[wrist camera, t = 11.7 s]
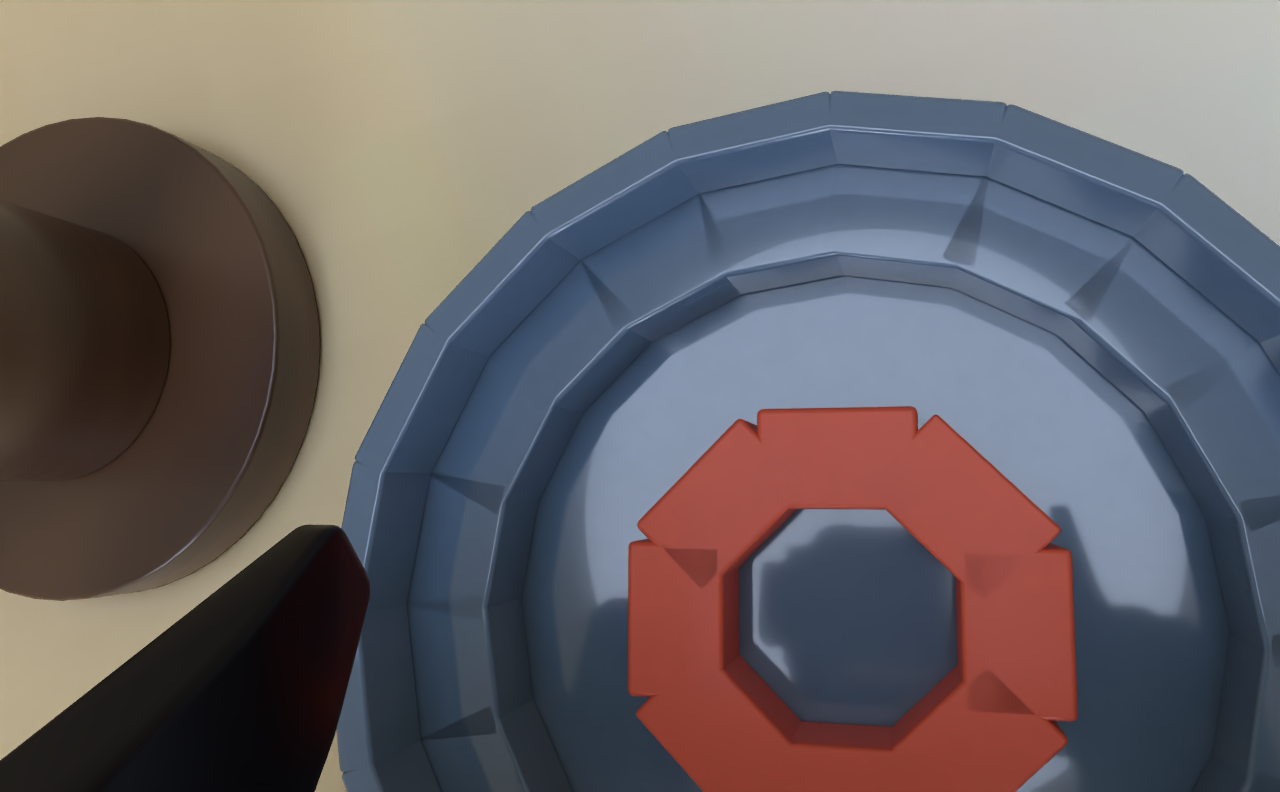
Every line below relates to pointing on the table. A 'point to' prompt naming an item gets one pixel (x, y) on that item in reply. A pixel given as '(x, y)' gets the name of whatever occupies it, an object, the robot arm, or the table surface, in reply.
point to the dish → (830, 378)
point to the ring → (941, 521)
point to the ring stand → (141, 358)
